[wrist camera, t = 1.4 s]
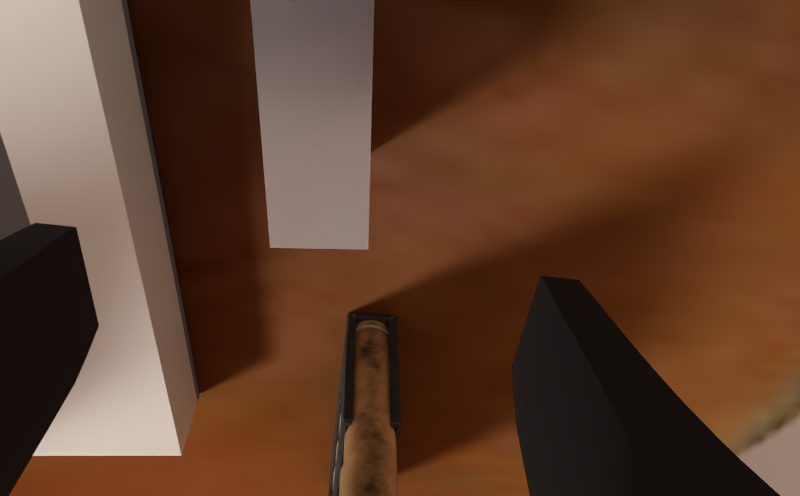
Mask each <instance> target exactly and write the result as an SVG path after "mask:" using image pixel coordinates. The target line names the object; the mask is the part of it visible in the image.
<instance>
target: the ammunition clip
mask: <svg viewBox="0 0 800 496" xmlns="http://www.w3.org/2000/svg"><path fill="white" fill-rule="evenodd" d="M400 429H401V409H400V386H399V362H398V339H397V317H395V316H386V315H372V314H359V313H348V318H347V327H346V336H345V345H344V354H343V363H342V372H341V381H340V390H339V399H338V408H337V417H336V426H335V435H334V444H333V453H332V462H331V471H330V480H329V495H328V496H398V484H397V456H396V449H397V444H398V439H399V434H400Z"/></svg>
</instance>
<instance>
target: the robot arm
mask: <svg viewBox="0 0 800 496" xmlns="http://www.w3.org/2000/svg"><path fill="white" fill-rule="evenodd" d="M98 327H99V323H98V319H97V315H96V310H95V306H94V302H93V297H92V293H91V289H90V284H89V280H88V276H87V271H86V267H85V263H84V258H83V254H82V250H81V245H80V241H79V237H78V232H77V228H76V227H72V226H62V225H53V224H43V223H34V224H32V225H30V226H28V227H25V228H23V229H21V230H19V231H17V232H15V233H13V234H11V235H9V236H7V237H6V238H4V239H2V240H0V496H9V494H10V493H11V491H12V489H13V488H14V486H15V484H16V483H17V481H18V479H19V477H20V476H21V474H22V472H23V471H24V469H25V467H26V466H27V464H28V462H29V461H30V459H31V457H32V456H33V454H34V452H35V451H36V449H37V447H38V446H39V444H40V442H41V441H42V439H43V437H44V436H45V434H46V432H47V431H48V429H49V427H50V425H51V424H52V422H53V420H54V419H55V417H56V415H57V413H58V412H59V410H60V408H61V407H62V405H63V403H64V401H65V400H66V398H67V396H68V395H69V393H70V391H71V389H72V388H73V386H74V384H75V382H76V380H77V378H78V375H79V373H80V371H81V368H82V366H83V364H84V362H85V359H86V357H87V355H88V352H89V350H90V347H91V344H92V342H93V339H94V337H95V334H96V332H97V329H98ZM512 372H513V389H514V404H515V417H516V426H517V432H518V437H519V442H520V447H521V453H522V458H523V463H524V468H525V473H526V478H527V483H528V488H529V493H530V496H780V495H779V494H778V493H777V492H775V491H774V490H773V489H772V488H771V487H770V486H769V485H768V484H767V483H765V482H764V481H763V480H762V479H761V478H760V477H759V476H758V475H757V474H756V473H754V472H753V471H752V470H751V469H750V468H749V467H748V466H747V465H745V463H743V462H742V461H741V460H740V459H739V458H738V457H737V456H736V455H735V454H734V453H733V452H732V451H731V450H730V449H729V448H728V447H727V446H726V445H725V444H724V443H723V442H722V441H721V440H720V439H719V438H718V437H717V436H716V435H715V434H714V433H713V432H712V431H711V430H710V429H709V428H708V427H707V426H706V425H705V424H704V423H703V422H702V421H701V420H700V419H699V418H698V417H697V416H696V415H695V414H694V413H693V412H692V411H691V410H690V409H689V408H688V407H687V406H686V404H685V403H684V402H683V401H682V400H681V399H680V398H679V397H678V396H677V395H676V394H675V393H674V391H673V390H672V389H671V388H670V387H669V386H668V385H667V384H666V383H665V382H664V380H663V379H662V378H661V377H660V376H659V375H658V374H657V373H656V371H655V370H654V369H653V368H652V367H651V366H650V365H649V363H648V362H647V361H646V360H645V359H644V358H643V356H642V355H641V354H640V353H639V352H638V351H637V349H636V348H635V347H634V346H633V345H632V343H631V342H630V341H629V340H628V339H627V337H626V336H625V335H624V334H623V333H622V331H621V330H620V329H619V328H618V327H617V325H616V324H615V323H614V322H613V321H612V319H611V318H610V317H609V316H608V314H607V313H606V312H605V311H604V310H603V308H602V307H601V306H600V305H599V303H598V302H597V301H596V300H595V299H594V297H593V296H592V295H591V294H590V293H589V291H588V290H587V289H586V288H585V287H584V286H583V284H582V283H581V282H580V281H579V280H574V279H564V278H555V277H545V276H541V277H540V280H539V283H538V286H537V289H536V293H535V296H534V299H533V302H532V305H531V308H530V311H529V315H528V318H527V321H526V324H525V327H524V330H523V334H522V337H521V340H520V343H519V346H518V349H517V353H516V356H515V359H514V362H513V365H512Z"/></svg>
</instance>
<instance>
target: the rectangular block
mask: <svg viewBox="0 0 800 496" xmlns="http://www.w3.org/2000/svg"><path fill="white" fill-rule="evenodd" d="M250 4H251V16H252V29H253V41H254V54H255V66H256V79H257V91H258V103H259V116H260V128H261V141H262V153H263V166H264V178H265V190H266V203H267V215H268V228H269V240H270V248H314V249H367V250H368V235H369V196H370V156H371V116H372V76H373V36H374V0H250Z"/></svg>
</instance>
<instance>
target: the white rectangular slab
mask: <svg viewBox="0 0 800 496" xmlns="http://www.w3.org/2000/svg"><path fill="white" fill-rule="evenodd" d="M34 223H43V224H53V225H62V226H72V227H76V228H77V232H78V237H79V241H80V245H81V250H82V254H83V258H84V263H85V267H86V271H87V276H88V280H89V284H90V289H91V293H92V297H93V302H94V306H95V310H96V315H97V319H98V323H99V327H98V329H97V332H96V334H95V337H94V339H93V342H92V344H91V347H90V350H89V352H88V355H87V357H86V359H85V362H84V364H83V366H82V368H81V371H80V373H79V375H78V378H77V380H76V382H75V384H74V386H73V388H72V389H71V391H70V393H69V395H68V396H67V398H66V400H65V401H64V403H63V405H62V407H61V408H60V410H59V412H58V413H57V415H56V417H55V419H54V420H53V422H52V424H51V425H50V427H49V429H48V431H47V432H46V434H45V436H44V437H43V439H42V441H41V442H40V444H39V446H38V447H37V449H36V451H35V452H34V454H33V456H181V455H182V452H183V449H184V445H185V442H186V439H187V435H188V432H189V429H190V425H191V422H192V419H193V415H194V412H195V409H196V405H197V402H198V398H199V395H200V394H199V388H198V383H197V378H196V372H195V367H194V361H193V356H192V351H191V345H190V340H189V334H188V329H187V323H186V318H185V313H184V307H183V302H182V296H181V291H180V286H179V280H178V275H177V269H176V264H175V259H174V253H173V248H172V242H171V237H170V232H169V226H168V221H167V215H166V210H165V205H164V199H163V194H162V188H161V183H160V178H159V172H158V167H157V161H156V156H155V151H154V145H153V140H152V134H151V129H150V124H149V118H148V113H147V107H146V102H145V97H144V91H143V86H142V80H141V75H140V70H139V64H138V59H137V53H136V48H135V43H134V37H133V32H132V26H131V21H130V16H129V10H128V5H127V0H0V240H2V239H4V238H6V237H7V236H9V235H11V234H13V233H15V232H17V231H19V230H21V229H23V228H25V227H28V226H30V225H32V224H34Z"/></svg>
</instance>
